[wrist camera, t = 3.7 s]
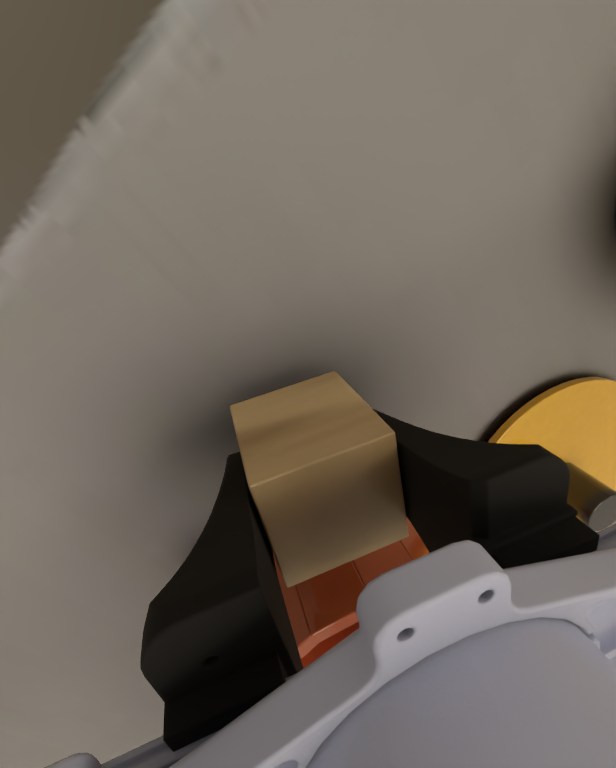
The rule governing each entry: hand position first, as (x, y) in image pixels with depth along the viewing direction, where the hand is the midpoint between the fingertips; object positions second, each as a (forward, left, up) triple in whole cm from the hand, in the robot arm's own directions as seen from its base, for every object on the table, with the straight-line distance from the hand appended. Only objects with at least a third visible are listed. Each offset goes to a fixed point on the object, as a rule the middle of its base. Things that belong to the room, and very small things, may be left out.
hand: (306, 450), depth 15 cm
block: (0, 0, -1) cm, 1 cm away
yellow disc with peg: (+1, -19, -3) cm, 19 cm away
